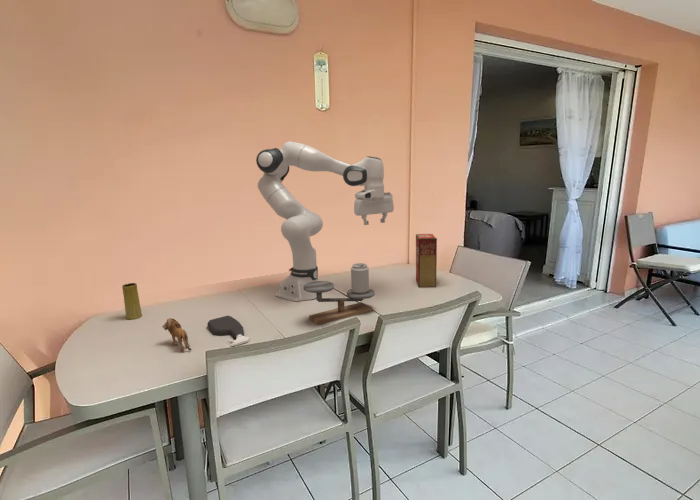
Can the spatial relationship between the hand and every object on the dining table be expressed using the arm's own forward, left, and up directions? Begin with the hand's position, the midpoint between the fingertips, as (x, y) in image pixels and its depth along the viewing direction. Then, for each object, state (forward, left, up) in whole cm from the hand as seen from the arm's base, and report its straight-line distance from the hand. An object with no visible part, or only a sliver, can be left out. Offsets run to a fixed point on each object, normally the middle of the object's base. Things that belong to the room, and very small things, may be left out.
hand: (374, 223), depth 178 cm
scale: (-3, -29, -34) cm, 45 cm away
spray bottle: (-33, -62, -35) cm, 78 cm away
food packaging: (+17, +26, -34) cm, 46 cm away
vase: (-83, -66, -34) cm, 111 cm away
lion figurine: (-42, -77, -34) cm, 95 cm away
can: (+2, -20, -26) cm, 33 cm away
